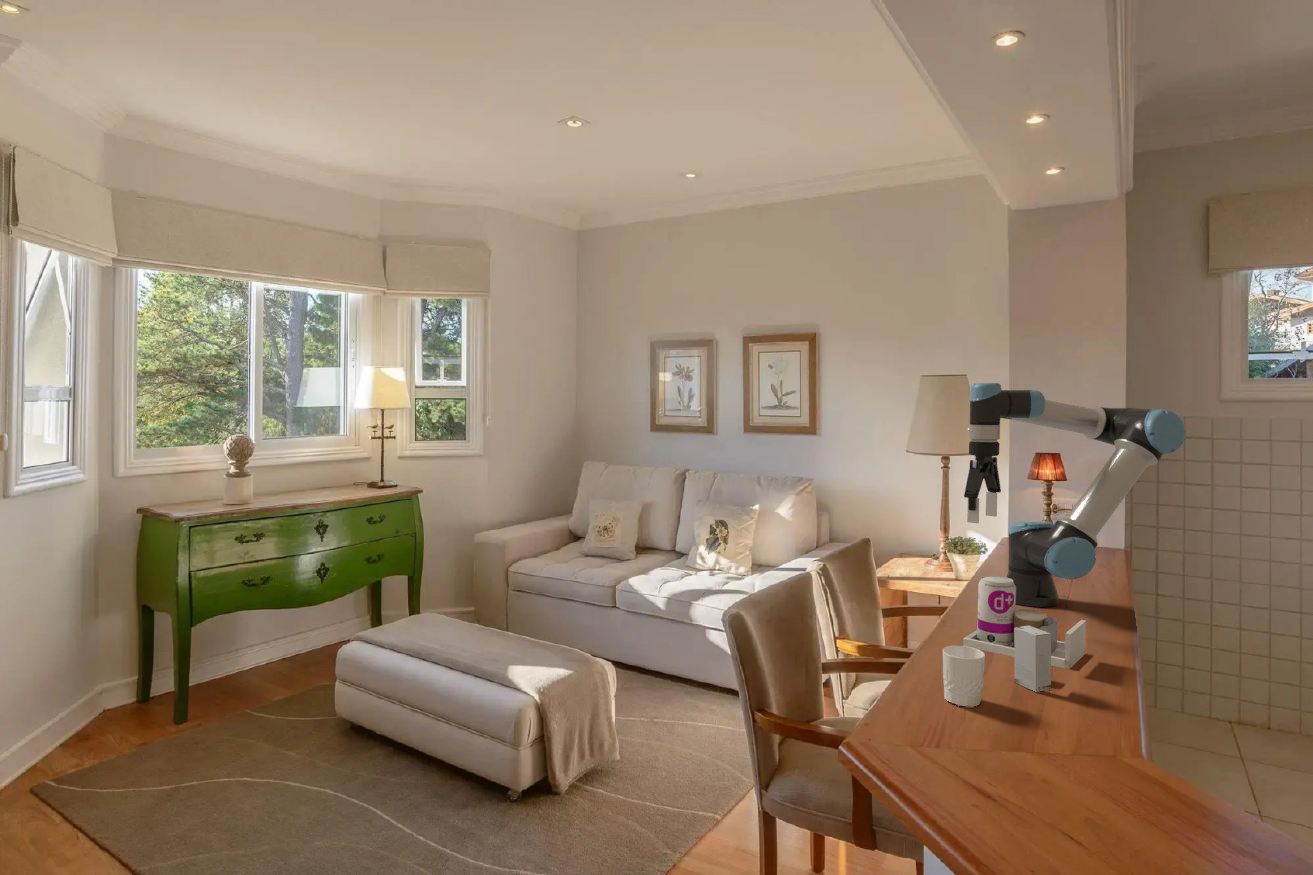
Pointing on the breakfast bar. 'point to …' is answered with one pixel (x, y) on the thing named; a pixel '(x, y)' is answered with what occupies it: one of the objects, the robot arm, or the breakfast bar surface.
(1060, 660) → the lane
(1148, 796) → the breakfast bar surface
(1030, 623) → the jar
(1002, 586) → the supplement can
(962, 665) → the white cup
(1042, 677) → the skincare box
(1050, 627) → the pusher
